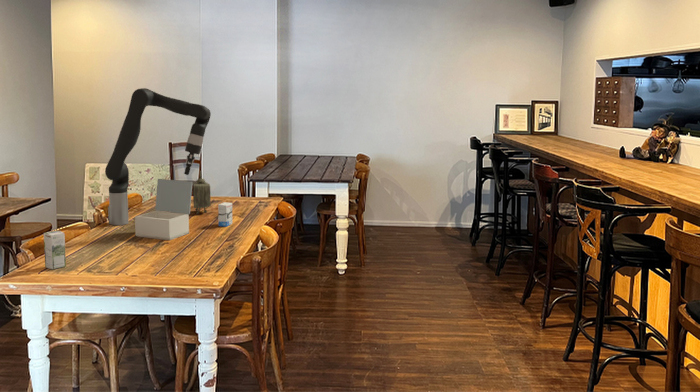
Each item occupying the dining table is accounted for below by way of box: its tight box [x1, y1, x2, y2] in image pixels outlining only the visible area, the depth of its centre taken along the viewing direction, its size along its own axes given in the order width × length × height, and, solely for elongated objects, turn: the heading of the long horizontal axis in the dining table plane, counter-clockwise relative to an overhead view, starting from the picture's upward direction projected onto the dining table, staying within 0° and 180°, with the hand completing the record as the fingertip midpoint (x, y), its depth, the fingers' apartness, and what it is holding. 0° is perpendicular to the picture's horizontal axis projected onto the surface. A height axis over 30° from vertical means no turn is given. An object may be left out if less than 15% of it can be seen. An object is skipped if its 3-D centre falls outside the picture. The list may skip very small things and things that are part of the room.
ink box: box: [217, 201, 233, 228], centre depth 331 cm, size 8×5×12 cm, turn 168°
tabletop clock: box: [192, 170, 212, 215], centre depth 361 cm, size 14×9×25 cm, turn 17°
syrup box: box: [43, 230, 67, 270], centre depth 247 cm, size 6×6×14 cm
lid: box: [154, 178, 193, 215], centre depth 312 cm, size 21×16×1 cm
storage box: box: [134, 210, 190, 241], centre depth 305 cm, size 20×16×10 cm
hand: (186, 174), depth 314 cm, fingers open, 8 cm apart
